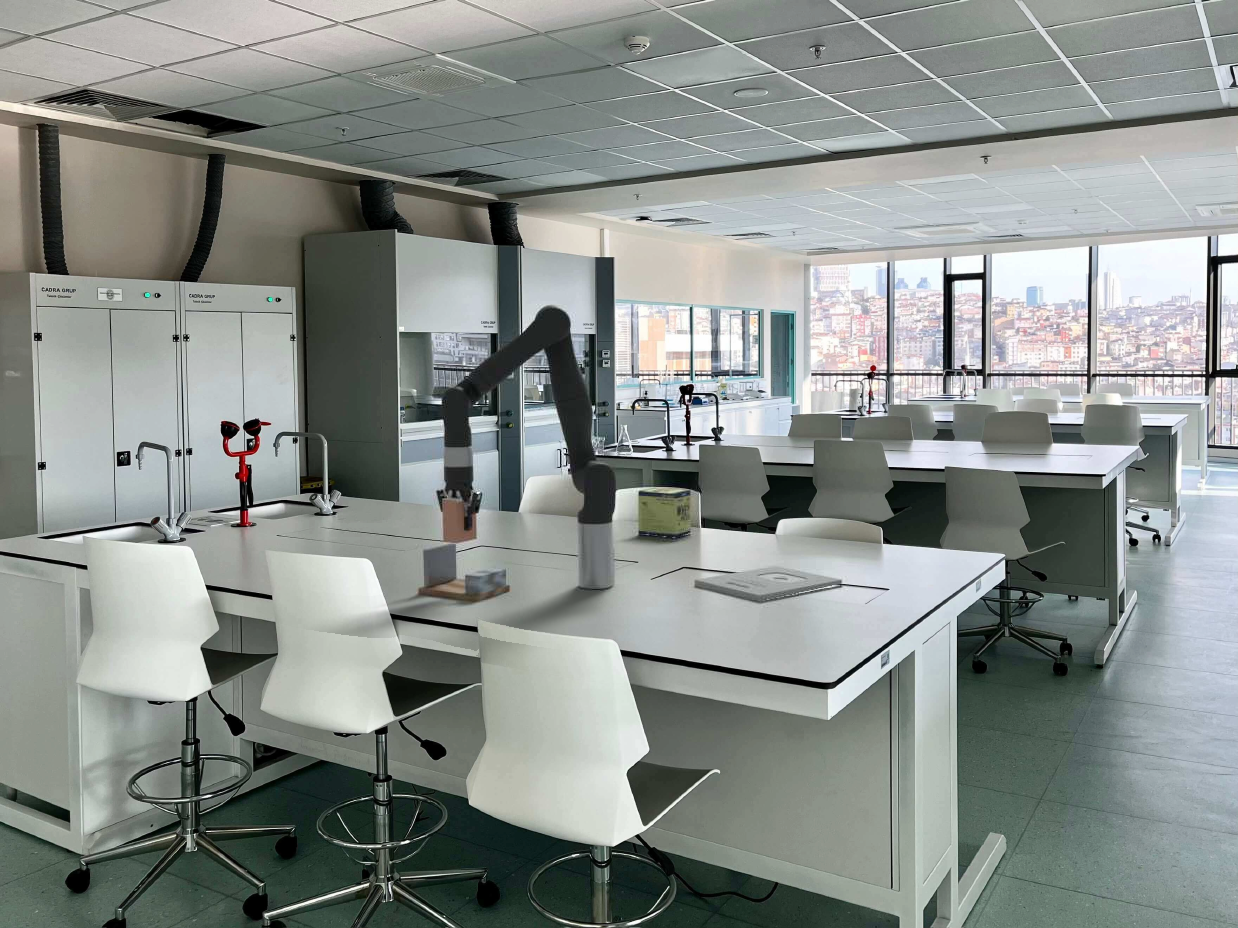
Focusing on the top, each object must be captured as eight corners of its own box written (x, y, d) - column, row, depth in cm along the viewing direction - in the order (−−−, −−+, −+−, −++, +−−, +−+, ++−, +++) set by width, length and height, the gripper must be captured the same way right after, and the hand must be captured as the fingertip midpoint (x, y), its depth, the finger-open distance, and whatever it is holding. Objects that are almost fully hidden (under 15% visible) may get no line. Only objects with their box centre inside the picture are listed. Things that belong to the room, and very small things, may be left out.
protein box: (676, 538, 352) (676, 493, 351) (637, 535, 360) (637, 490, 359) (691, 534, 361) (691, 489, 359) (653, 531, 369) (652, 487, 368)
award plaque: (694, 587, 276) (694, 579, 276) (775, 573, 294) (775, 565, 293) (759, 603, 256) (759, 595, 256) (841, 587, 274) (842, 579, 274)
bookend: (452, 578, 280) (451, 543, 279) (456, 578, 279) (455, 543, 278) (424, 585, 271) (423, 549, 270) (428, 586, 270) (427, 550, 269)
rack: (453, 583, 282) (453, 561, 281) (509, 590, 272) (509, 568, 272) (418, 593, 270) (417, 570, 270) (475, 601, 260) (475, 577, 260)
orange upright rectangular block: (463, 537, 275) (462, 495, 274) (476, 538, 272) (475, 496, 271) (443, 541, 268) (442, 498, 267) (456, 543, 266) (455, 499, 265)
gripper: (489, 464, 268) (490, 529, 270) (446, 462, 275) (448, 525, 277) (470, 466, 262) (472, 533, 263) (427, 464, 269) (429, 529, 271)
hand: (460, 529), depth 270 cm, fingers closed on orange upright rectangular block, 4 cm apart
